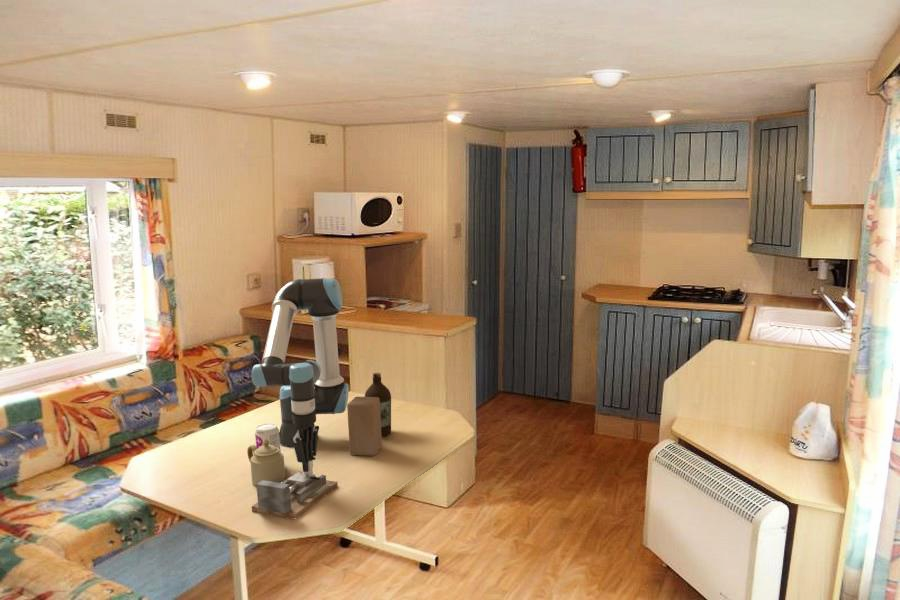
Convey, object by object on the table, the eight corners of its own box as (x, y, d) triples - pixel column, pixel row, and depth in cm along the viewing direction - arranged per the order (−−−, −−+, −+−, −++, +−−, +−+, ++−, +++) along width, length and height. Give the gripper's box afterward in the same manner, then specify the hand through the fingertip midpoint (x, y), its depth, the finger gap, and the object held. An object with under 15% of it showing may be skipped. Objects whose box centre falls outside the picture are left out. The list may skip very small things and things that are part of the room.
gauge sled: (278, 497, 215) (277, 483, 214) (298, 483, 225) (297, 470, 224) (306, 502, 211) (305, 488, 210) (325, 487, 221) (324, 474, 220)
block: (374, 457, 249) (372, 404, 246) (349, 455, 251) (346, 403, 248) (382, 446, 259) (380, 396, 256) (358, 445, 261) (355, 395, 258)
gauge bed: (250, 511, 209) (248, 482, 208) (297, 479, 232) (295, 453, 230) (294, 519, 203) (292, 490, 202) (337, 486, 226) (335, 459, 224)
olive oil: (362, 431, 276) (359, 372, 271) (387, 427, 280) (384, 368, 276) (371, 440, 266) (368, 378, 262) (396, 435, 271) (394, 374, 267)
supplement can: (260, 473, 238) (257, 432, 235) (255, 465, 245) (252, 425, 243) (283, 468, 241) (280, 428, 239) (278, 460, 249) (275, 421, 246)
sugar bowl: (235, 485, 228) (231, 443, 226) (251, 472, 239) (248, 431, 237) (276, 488, 225) (273, 445, 223) (290, 474, 236) (287, 433, 234)
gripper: (302, 418, 212) (306, 489, 216) (324, 406, 224) (329, 473, 228) (282, 416, 215) (287, 486, 219) (305, 404, 227) (310, 470, 231)
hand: (308, 479), depth 224 cm, fingers closed
